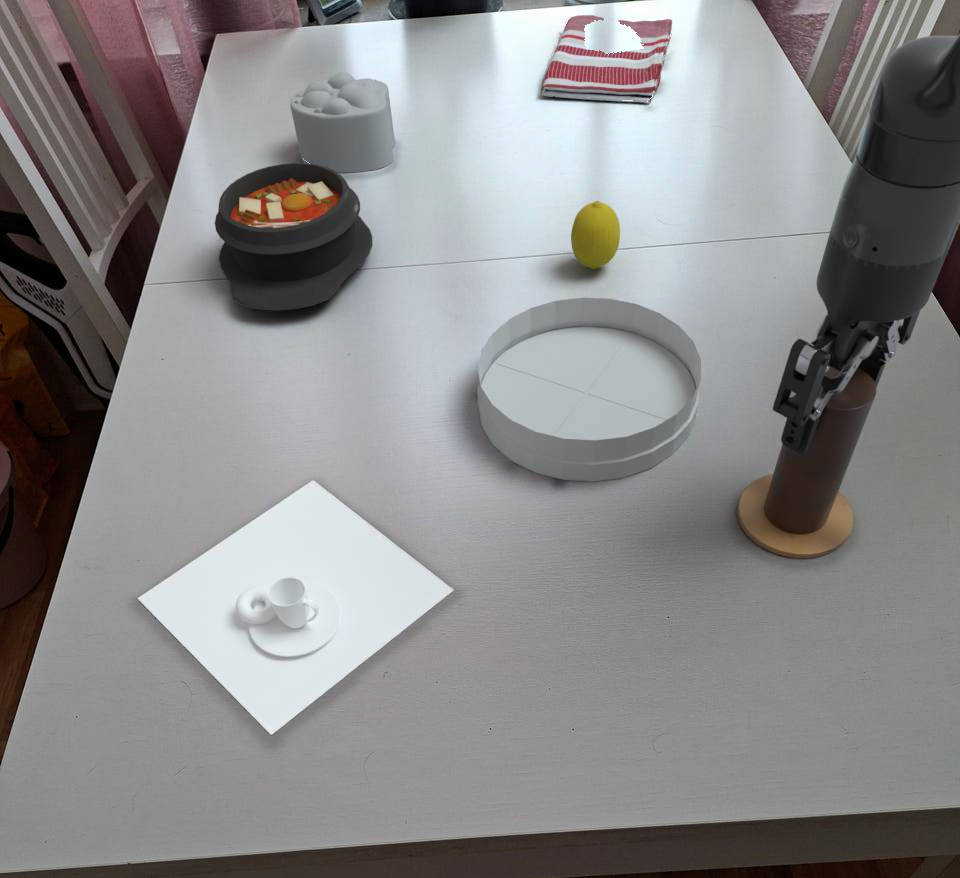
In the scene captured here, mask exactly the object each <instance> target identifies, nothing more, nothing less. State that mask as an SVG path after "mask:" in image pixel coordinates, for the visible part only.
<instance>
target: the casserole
mask: <svg viewBox="0 0 960 878" xmlns="http://www.w3.org/2000/svg"><path fill="white" fill-rule="evenodd" d="M360 211H361V202H360V198H359V196H358V194H357V193H356V192H355V191H354V189H352V188H351V187H350V186H349V184H348V182H347V180H346V179H345V178H344V177H343V175H341V173H337V172H336V171H334V170H332V169H329V168H327V167H324V166H320V165H315V164H307V163H304V162H290V163H280V164H275V165H270V166H266V167H262V168H259V169H256V170H253V171H251V172H249V173H246V174H245V175H243V176H241V177H239V178H237V179H236V180H234V181H233V182H232V183H231V184H229V185H228V186H227V188H225V190H223V192H222V194H221V195H220V198H219V201H218V212H217V213H216V215H215V220H214V227H215V232H216V233H217V235H218V236H219V238H220V239H221V240H222V241H223V244H222V245H221V248H220V250H219V254H218V262H219V267H220V269H221V271H222V273H223V274H224V276H225V278H226V279H227V281H228V283H229V287H230V291H231V295H232V300H234V301H235V302H236V303H238V304H239V305H241V306H243V307H247V308H249V309H254V310H255V309H256V310H260V311H261V310H262V311H288V310H289V311H290V310H297V309H302V308H303V309H304V308H307V307H308V308H309V307H312V306H315V305H318V304H321V303H324V302H325V301H327V300H329V299H330V298H332V297H333V296H334V295H335V294H336V293H337V292H338V290H339V288H340V287H341V286H342V284H343V283H344V282H345V281H346V279H347V278H348V277H349V276H351V275H352V274H353V273H354V272H355V271H356V270H357V269H358V268H359V267H360V266H362V265H363V264H364V263H365V261H366V259H367V258H368V257H369V255H370V253H371V251H372V248H373V235H372V231H371V229H370V228H369V226H368V225H367V224H366V223H365V222H364V220H363V219H362V218H361V217H360V216H359V214H360Z"/></svg>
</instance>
